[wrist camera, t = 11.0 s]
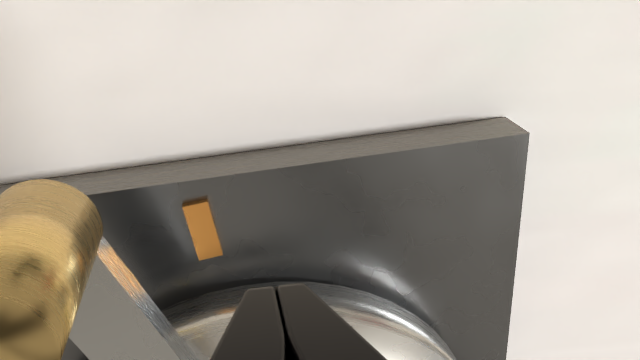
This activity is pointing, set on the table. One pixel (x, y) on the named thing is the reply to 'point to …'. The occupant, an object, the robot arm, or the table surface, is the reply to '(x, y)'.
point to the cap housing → (334, 223)
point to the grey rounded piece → (138, 294)
